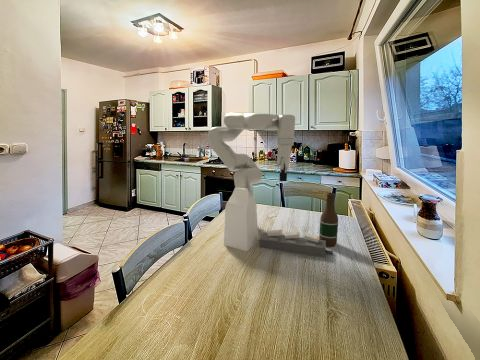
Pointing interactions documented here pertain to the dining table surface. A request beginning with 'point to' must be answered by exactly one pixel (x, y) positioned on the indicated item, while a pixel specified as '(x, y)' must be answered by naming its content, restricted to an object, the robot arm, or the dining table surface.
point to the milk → (240, 220)
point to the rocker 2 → (311, 237)
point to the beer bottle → (329, 223)
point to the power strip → (294, 245)
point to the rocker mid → (292, 235)
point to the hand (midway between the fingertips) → (283, 180)
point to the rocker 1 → (274, 232)
